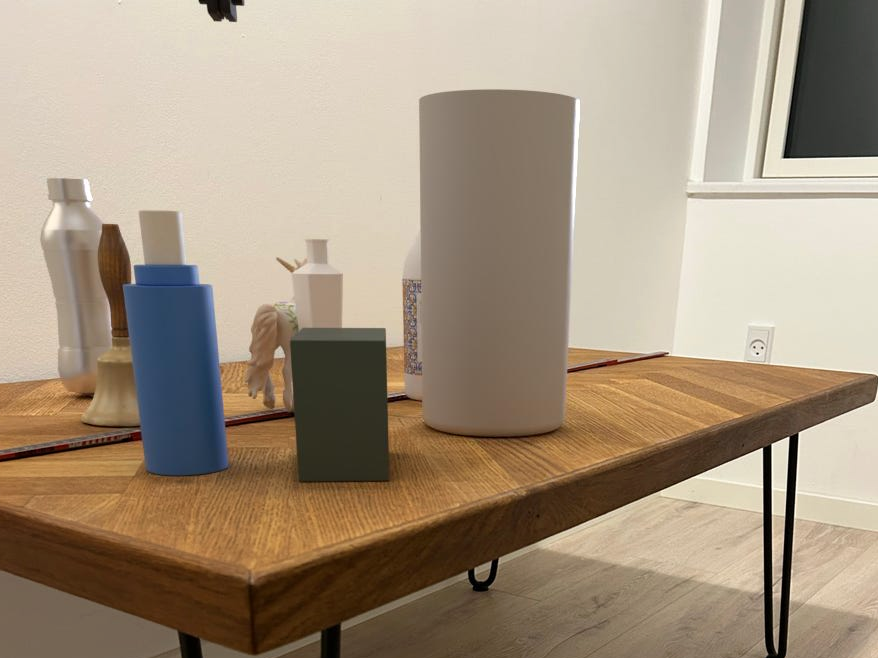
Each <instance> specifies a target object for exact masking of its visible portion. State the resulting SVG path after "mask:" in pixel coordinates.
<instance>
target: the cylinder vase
mask: <svg viewBox="0 0 878 658" xmlns="http://www.w3.org/2000/svg"><path fill="white" fill-rule="evenodd" d="M580 103H581V102H580V100H579V98H576V97H574V96H570V95H566V94H562V93H557V92H549V91H548V92H547V91H539V90H527V89H502V88H501V89H500V88H499V89H496V88H494V89H492V88H489V89H487V88H485V89H483V88H482V89H463V90H461V89H460V90H448V91H441V92H434V93H430V94H426V95H423V96H421V97H420V98H419V99H418V119H419V120H418V123H419V124H418V126H419V127H418V129H419V131H418V132H419V133H418V134H419V137H418V138H419V211H420V212H419V214H420V215H419V216H420V218H419V219H420V223H419V225H420V227H419V228H420V229H419V230H420V232H421V325H422V401H421V403H422V405H421V407H422V409H421V411H422V419H423V421H424V422H425V424H426V425H427V426H429V427H430V428H432V429H434V430H436V431H440V432H444V433H448V434H453V435H461V436H471V437H484V438H485V437H486V438H513V437H514V438H515V437H526V436H527V437H528V436H535V435H542V434H546V433H550V432H553V431H555V430H557V429H559V428H560V427H561V426H562V425H563V424H564V422H565V419H566V404H567V384H568V361H569V343H570V341H569V340H570V320H571V319H570V317H571V299H572V298H571V295H572V276H573V275H572V274H573V256H574V255H573V254H574V253H573V252H574V236H575V235H574V234H575V212H576V189H577V170H578V167H577V166H578V150H579V149H578V147H579V126H580V125H579V124H580Z"/></svg>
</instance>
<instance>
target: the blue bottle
mask: <svg viewBox="0 0 878 658" xmlns="http://www.w3.org/2000/svg"><path fill="white" fill-rule="evenodd" d="M138 218H139V227H140V235H141V244H142V252H143V263H144V264H134V265H133V274H134V283H131V284H125V285H123V292H124V300H125V308H126V316H127V323H128V331H129V339H130V347H131V355H132V363H133V371H134V379H135V387H136V395H137V403H138V411H139V419H140V426H139V427H140V434H141V442H142V450H143V458H144V459H143V460H144V465H145V470H146V471H147V472H148V473H151V474H155V475H159V476H171V477H172V476H173V477H174V476H179V477H181V476H182V477H183V476H198V475H207V474H212V473H216V472H217V473H218V472H221V471H223V470H226V469H228V467H229V466H230V465H229V452H228V442H227V432H226V431H227V429H226V421H225V419H226V418H225V410H224V400H223V399H224V398H223V387H222V376H221V367H220V356H219V354H220V353H219V345H218V344H219V343H218V334H217V333H218V332H217V323H216V311H215V302H214V301H215V300H214V288H213V284H209V283H207V284H206V283H200V273H199V266H198V265H197V264H187V255H186V244H185V235H184V226H183V225H184V224H183V214H182V211H180V210H162V209H161V210H160V209H158V210H153V209H152V210H151V209H149V210H148V209H146V210H145V209H144V210H143V209H142V210H138Z"/></svg>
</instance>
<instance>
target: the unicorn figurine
mask: <svg viewBox="0 0 878 658" xmlns="http://www.w3.org/2000/svg"><path fill="white" fill-rule="evenodd" d="M275 260H276V261H277V262H279V264H281V265H282V266H283V267H284V268H285V269H286V270H287V271H289V273H290V274H291V273H293V272H294V271H296V270H297V269H299V268H301V267H302V266H304V265H305V264H307V257H306V258H304V259H303V262H301V261H299V260H298V259H296V258H293V262H294V263H295V265H296V266H297V267H295V266H294V265H292V264H291V263H289V262H287V261H286V260H284V259H282V258H281V257H278V256H277V257H275ZM250 332H251V338H252V339H251V342H250V345H249V347H248V351H249V353H250V354H251V355H250V359H249V360H248V361H247V362H246V365H248V367H247V369H246V372H245V373H246V374H245V376H244V382H245V383H247V390H248V397H252V399H253V400H256V398H257V397H258V392H261V393H262V397H263V398H262V404H263V406H264V407H266V408H267V409H271V410H274V409H275V408H276V402H277V401H276V400H277V399H276V395H275V385H274V382H273V380H272V378H271V375H270V371H271V370H272V368H273V367H274V362H275V361H274V360H275V353H276V350H277V349H279V348H280V349H282V351H283V354H284V365H283V368H282V371H281V373H282V378H283V382H284V389H283V391H282V403H283V405H284V408H285V411H286V412H287V414H291V413H294V398H293V382H292V367H291V351H290V340H291V339H292V338H293V337H294V336H295V335H296V334H297V333H298V332H299V329H298V321H297V313H296V305H295V297H294V296H293V298H292V299H291V300H290V301H278V302H274V303H272V304H270V303H264V304H261V305H260V306H258V308H257V310H256V312H255V315H254V317H253V322H252V324H251V327H250Z"/></svg>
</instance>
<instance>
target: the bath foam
mask: <svg viewBox="0 0 878 658" xmlns="http://www.w3.org/2000/svg"><path fill="white" fill-rule="evenodd" d="M401 281H402V282H401V283H402V285H401V286H402V329H403V335H402V337H403V374H404V376H403V377H404V378H403V379H404V395H405V396H406V397H407V398H408V399H411V400H414V401H421V402H422V325H421V232H420V229H419V231H418V232H417V234H416V236H415V237H414V239H413V241H412V243H411V245H410V247H409V249H408V250H407V254H406V255H405V259H404V263H403V267H402V279H401Z"/></svg>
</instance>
